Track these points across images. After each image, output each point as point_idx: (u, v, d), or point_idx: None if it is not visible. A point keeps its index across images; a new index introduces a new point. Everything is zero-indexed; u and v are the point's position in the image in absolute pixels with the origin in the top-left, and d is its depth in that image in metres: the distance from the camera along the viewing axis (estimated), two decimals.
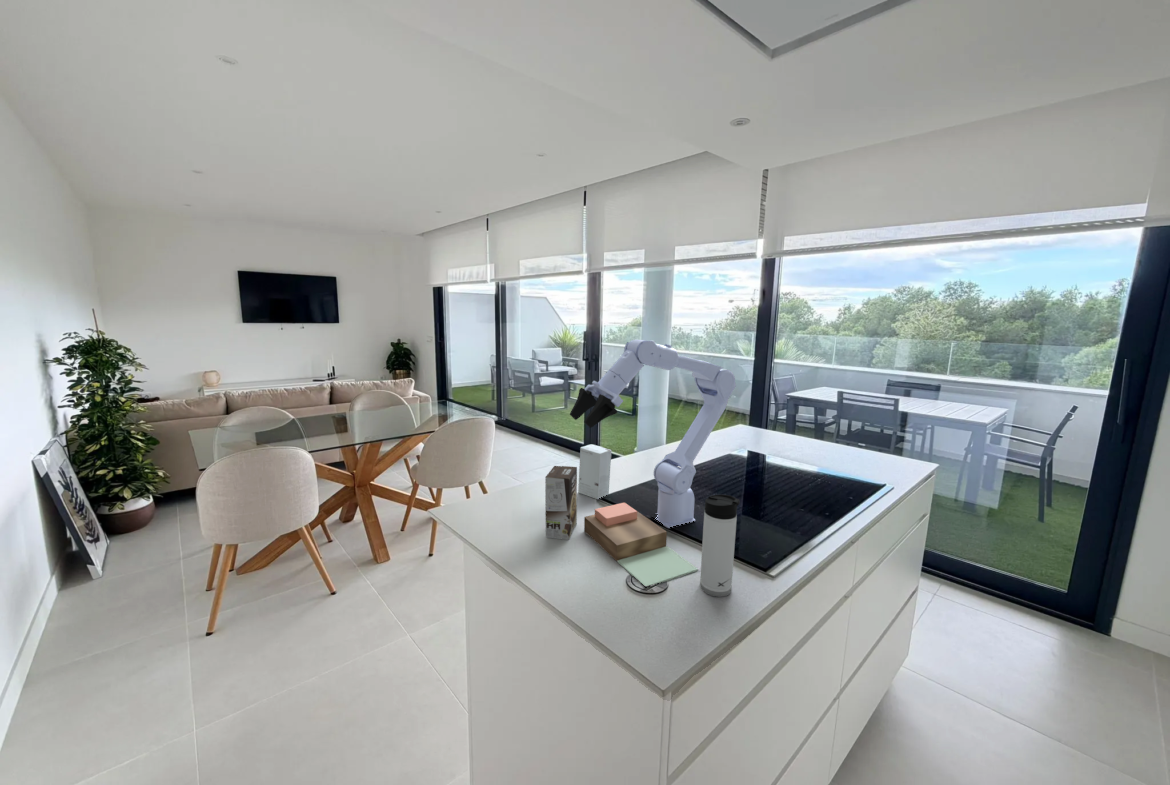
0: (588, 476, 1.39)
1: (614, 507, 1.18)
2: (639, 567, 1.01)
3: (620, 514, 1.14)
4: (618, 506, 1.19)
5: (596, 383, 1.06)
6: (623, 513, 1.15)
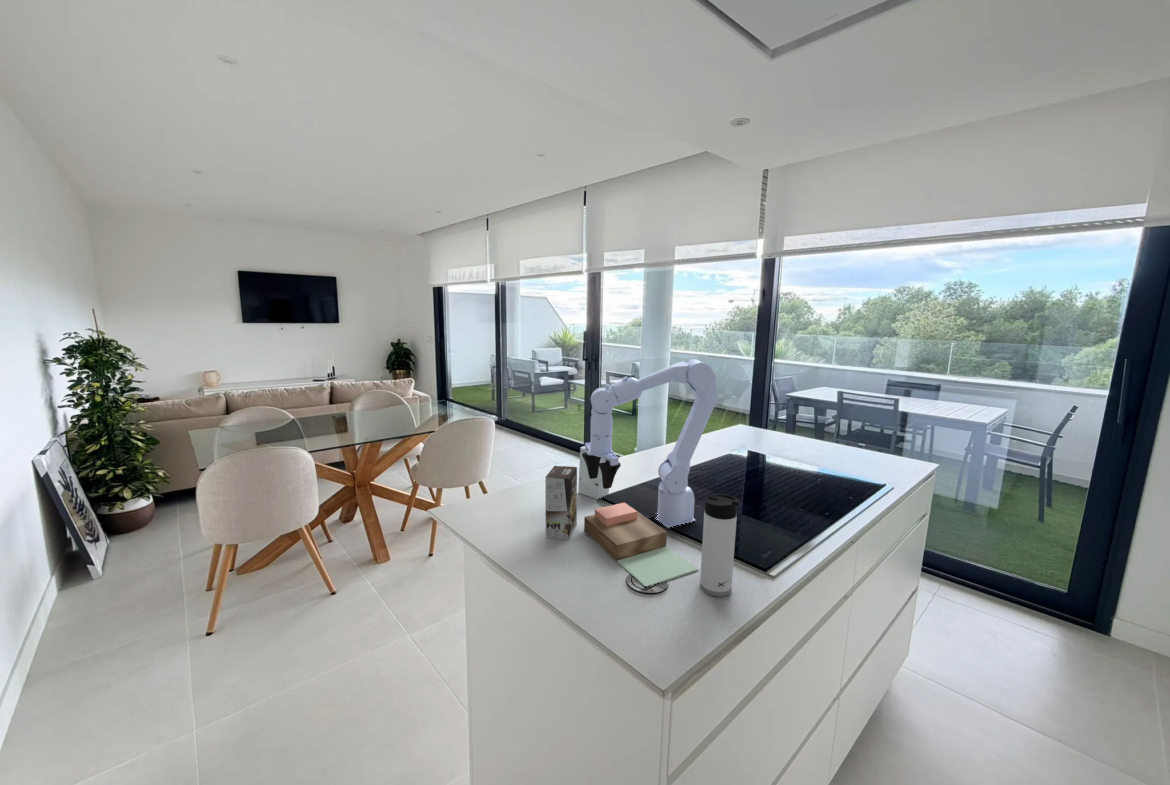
0: (588, 476, 1.39)
1: (614, 507, 1.18)
2: (639, 567, 1.01)
3: (620, 514, 1.14)
4: (618, 506, 1.19)
5: (590, 454, 1.19)
6: (623, 513, 1.15)
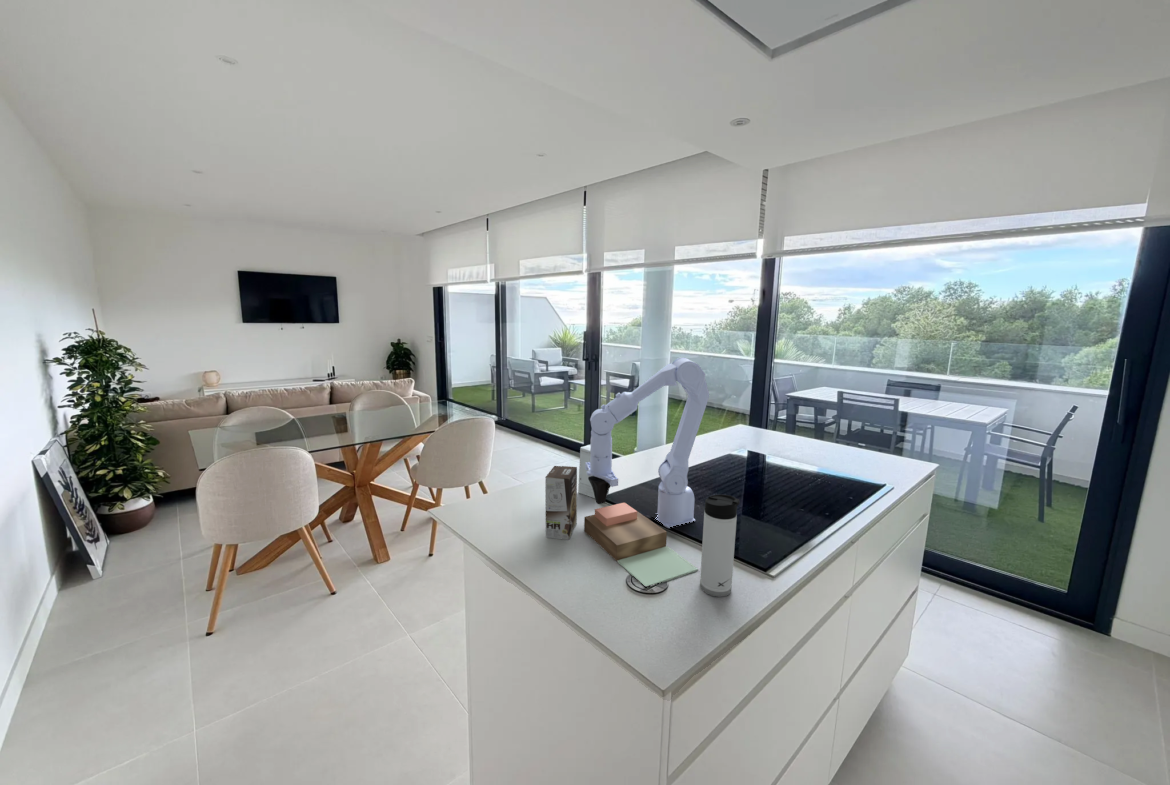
0: (588, 476, 1.39)
1: (614, 507, 1.18)
2: (639, 567, 1.01)
3: (620, 514, 1.14)
4: (618, 506, 1.19)
5: (590, 474, 1.20)
6: (623, 513, 1.15)
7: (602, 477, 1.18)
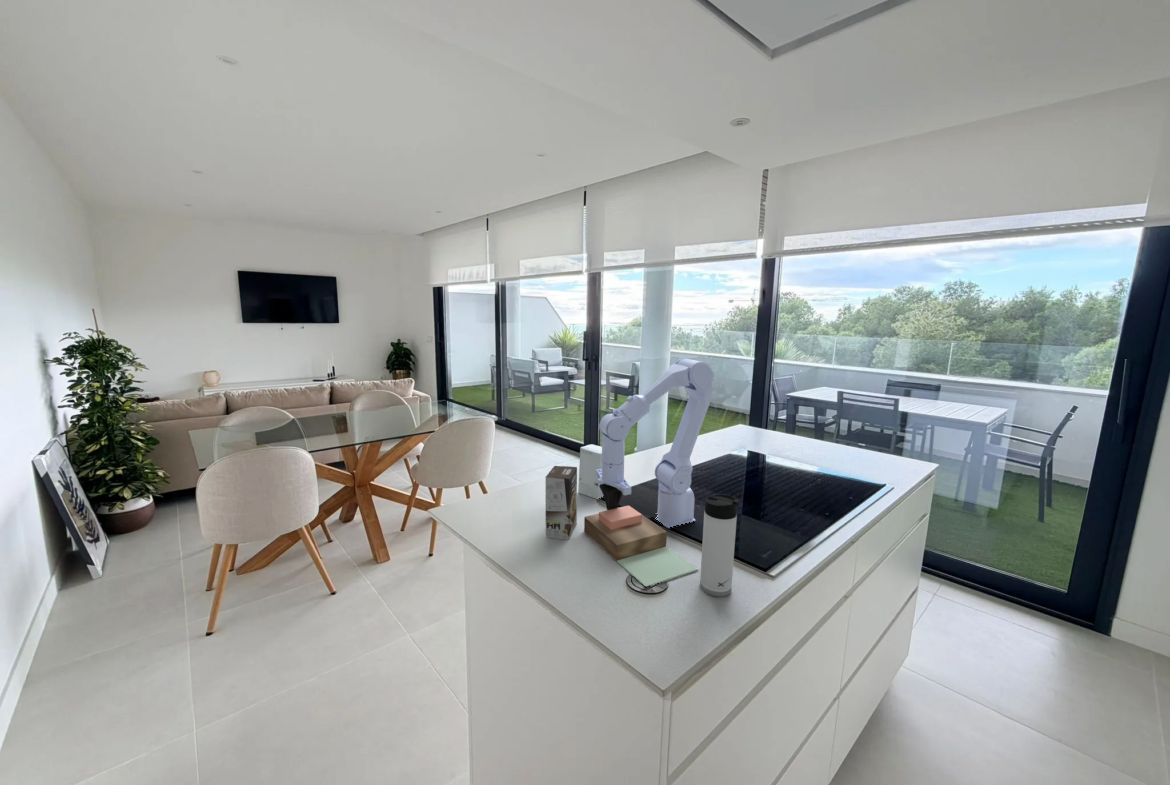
0: (588, 476, 1.39)
1: (618, 510, 1.17)
2: (639, 567, 1.01)
3: (624, 518, 1.12)
4: (622, 509, 1.17)
5: (601, 482, 1.14)
6: (627, 516, 1.13)
7: (614, 485, 1.13)
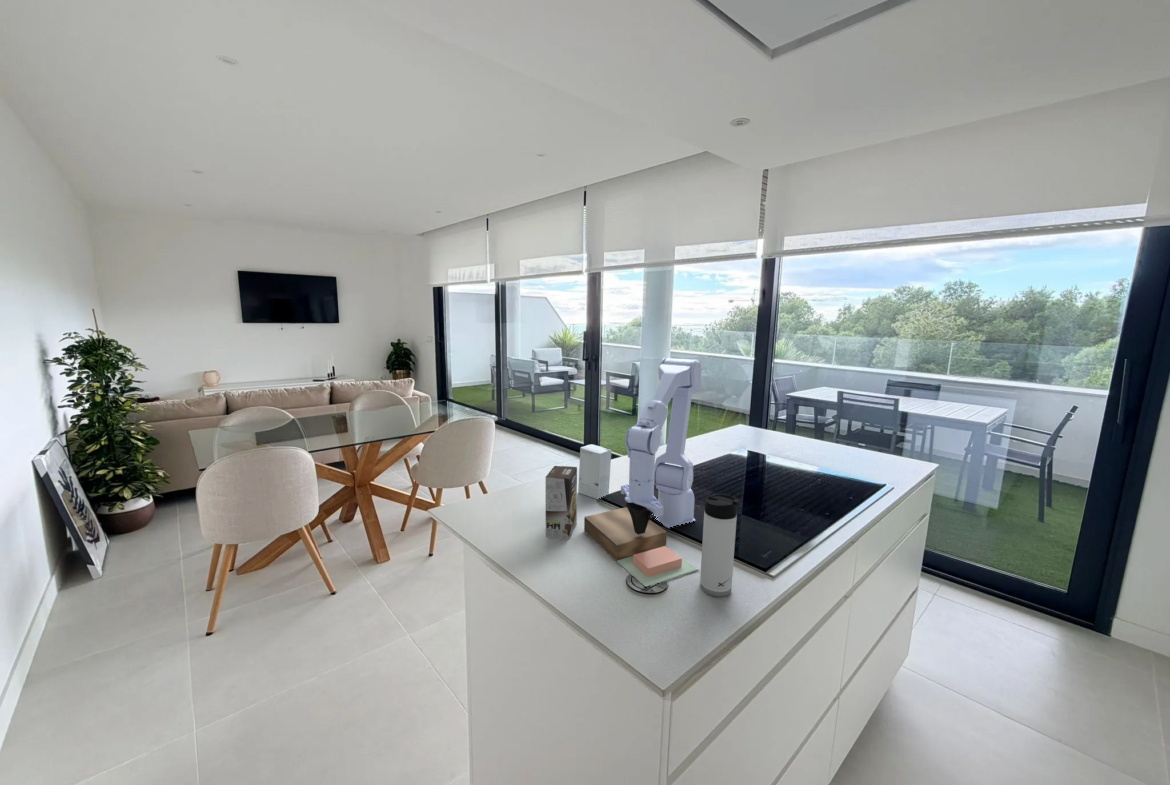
0: (588, 476, 1.39)
1: None
2: None
3: None
4: None
5: (629, 501, 1.03)
6: None
7: (644, 505, 1.02)
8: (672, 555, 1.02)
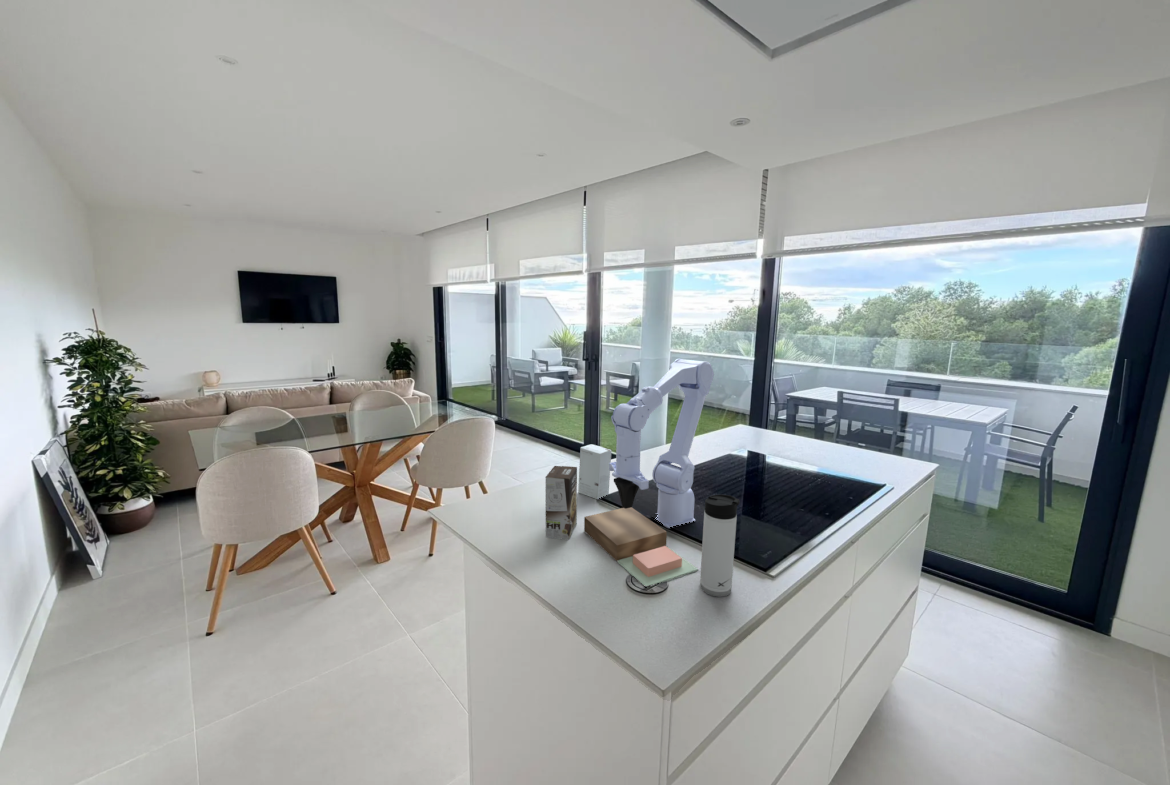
0: (588, 476, 1.39)
1: None
2: None
3: None
4: None
5: (616, 476, 1.08)
6: None
7: (630, 479, 1.06)
8: (672, 555, 1.02)
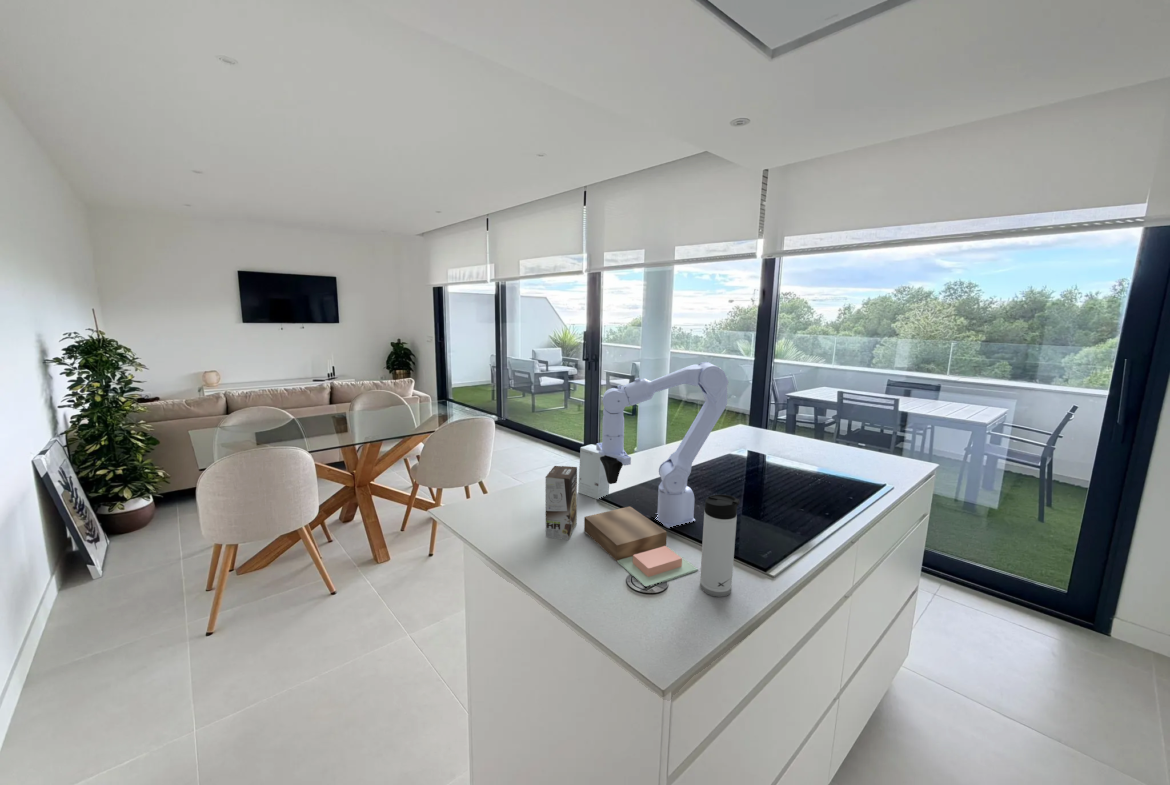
0: (588, 476, 1.39)
1: None
2: None
3: None
4: None
5: (602, 454, 1.19)
6: None
7: (614, 456, 1.17)
8: (672, 555, 1.02)
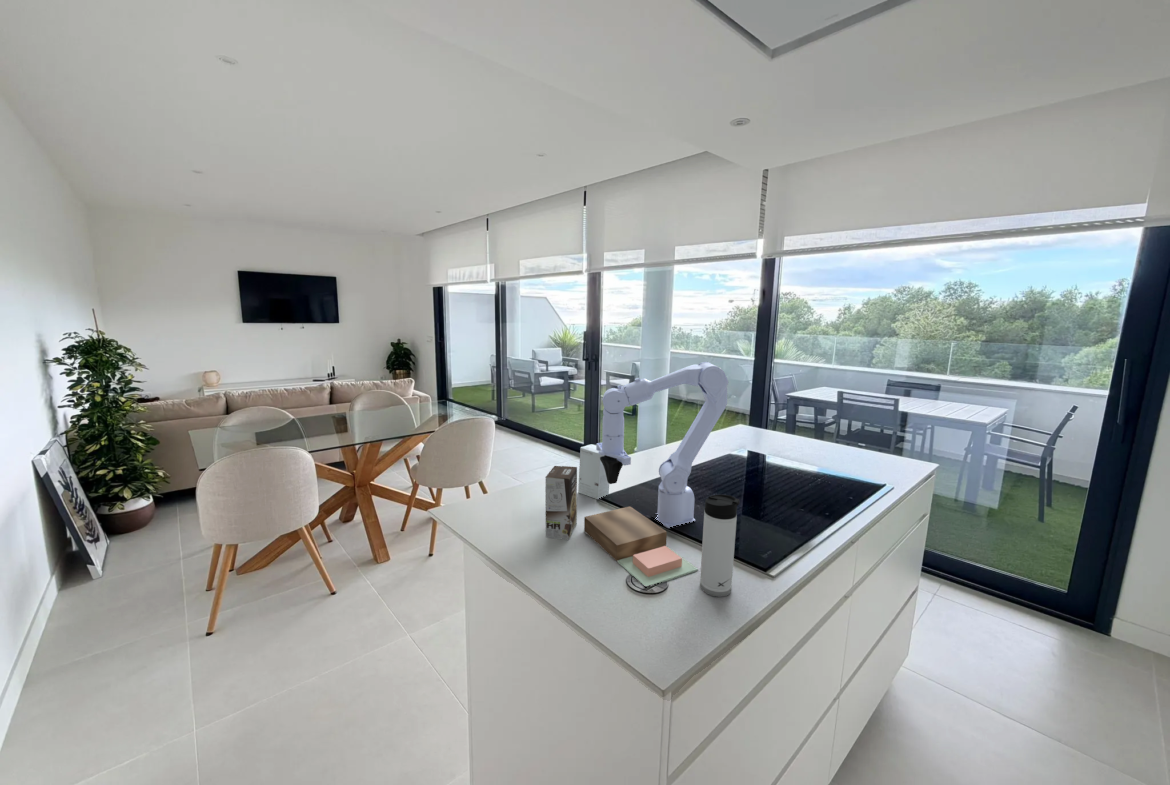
0: (588, 476, 1.39)
1: None
2: None
3: None
4: None
5: (602, 454, 1.19)
6: None
7: (614, 456, 1.17)
8: (672, 555, 1.02)
